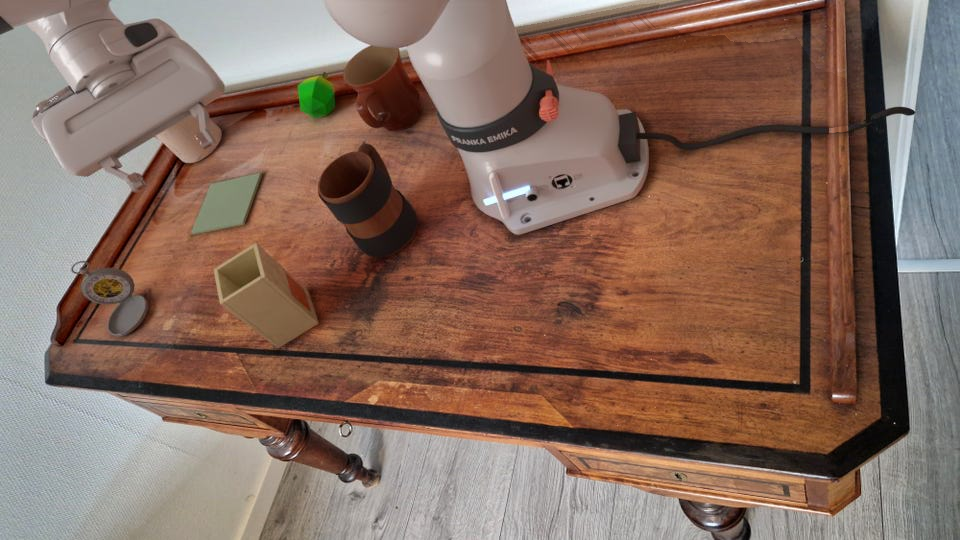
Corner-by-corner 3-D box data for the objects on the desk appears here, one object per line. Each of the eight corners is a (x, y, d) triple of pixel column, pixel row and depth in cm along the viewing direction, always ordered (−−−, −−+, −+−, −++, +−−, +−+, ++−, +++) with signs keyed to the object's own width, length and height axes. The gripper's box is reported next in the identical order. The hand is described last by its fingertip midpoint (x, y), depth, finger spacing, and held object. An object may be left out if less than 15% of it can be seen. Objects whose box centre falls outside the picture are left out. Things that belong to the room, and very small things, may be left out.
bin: (309, 290, 85) (256, 241, 77) (319, 323, 81) (265, 275, 73) (269, 314, 85) (213, 269, 77) (278, 348, 81) (219, 304, 73)
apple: (296, 90, 99) (310, 50, 104) (286, 115, 104) (300, 77, 109) (340, 109, 102) (352, 70, 106) (329, 133, 107) (341, 95, 111)
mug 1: (386, 100, 102) (353, 47, 94) (436, 92, 99) (405, 36, 91) (364, 157, 96) (327, 107, 88) (416, 151, 93) (382, 98, 85)
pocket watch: (127, 344, 92) (67, 309, 85) (99, 325, 97) (41, 291, 90) (165, 297, 95) (111, 259, 88) (137, 281, 100) (83, 244, 92)
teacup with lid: (231, 123, 116) (185, 72, 107) (212, 161, 111) (162, 111, 102) (181, 133, 120) (132, 85, 111) (160, 170, 116) (108, 123, 107)
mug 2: (428, 183, 88) (388, 121, 79) (415, 256, 81) (369, 197, 72) (373, 193, 91) (328, 134, 82) (355, 264, 84) (304, 209, 76)
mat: (262, 174, 103) (260, 172, 103) (244, 224, 98) (242, 222, 97) (212, 185, 107) (210, 183, 106) (192, 234, 101) (190, 233, 101)
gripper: (8, 107, 71) (85, 214, 73) (172, 11, 73) (244, 118, 75) (38, 117, 77) (109, 215, 79) (188, 28, 79) (254, 126, 81)
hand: (176, 167), depth 77 cm, fingers open, 8 cm apart
